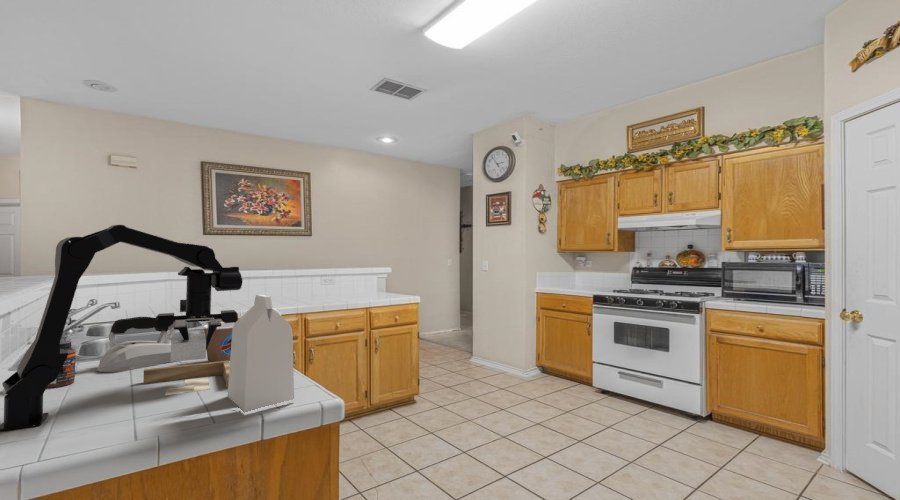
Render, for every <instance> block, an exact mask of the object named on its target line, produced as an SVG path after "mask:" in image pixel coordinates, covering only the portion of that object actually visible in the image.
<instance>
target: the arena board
mask: <svg viewBox="0 0 900 500" xmlns="http://www.w3.org/2000/svg"><path fill="white" fill-rule="evenodd" d="M208 390H211V387H210V380H209V376H204V377H196V378H187V379H184V386H178V387H169V388H166V389H165V396H172V395H178V394H186V393H187V394H188V393H193V392H194V393H195V392H201V391H208Z"/></svg>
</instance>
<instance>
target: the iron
mask: <svg viewBox="0 0 900 500" xmlns="http://www.w3.org/2000/svg"><path fill="white" fill-rule="evenodd" d="M155 318H156V317H151V316H136V317H135V316H134V317H130V318H129V317H128V318H120V319H117V320H115V321H114V323H113V324H112V326H111V328H110V332H109V334H108V340H109V342H111V343H112V344H114V346H112V347H111V348H109V349H108V350H107V351H106V352H105V353H104V354H103V355H102V357H101V358H100V360H99V364H98V367H97V368H96V371H98V372H101V373H116V372H118V373H119V372H124V371H131V370H137V369H142V368H146V367H154V366H159V365H161V364H163V365H164V364H166V363H169V362H171V341H172V339H171V338H173V336H174V334H175V333H176V331H178V329H176V330H175V329H174V327H172V328H171V329H170V330H169V328H170V327H155ZM153 328H154V330H155V331H157V332H160V334H159V336H158V339H157V340H130V341H123V342H120V343H118V342H117V341H116V340H115V339H116V338H115V337H116V335H121V334H125V333H126V332H127V331H128V330H131V329H135V330H137V329H138V330H145V329H146V330H147V329H153Z"/></svg>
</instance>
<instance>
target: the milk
mask: <svg viewBox="0 0 900 500" xmlns="http://www.w3.org/2000/svg"><path fill="white" fill-rule="evenodd" d="M271 298H272V297H271V296H269V295H265V294H261V293H260V294H255V297H254V301H253V306H252V307H250V308H249V309H248V310H247V311H246V312H245V313H243V314H242V315H241V316H240V317H238V320H237V321H236V323H235V324H234V326H233V330H232V343H231V356H230V369H229V383H228V389H227V395H226V396H227V398H228V399H230V400H231V401H232V402H234V404H236V405H237V407H238V408H240V409H241V410H242V411H243V412H244V413H245V412H248V411H251V410H255V409H258V408H261V407H265V406H269V405H273V404H277V403H281V402H284V401H289V400H293V399H294V400H295V382H294V381H295V379H294V376H295V375H294V343H293V342H294V340H293V339H294V338H293V334H294V333H293V328H292V325H291V324H290V322H289V321H287V320H286V319H285V318H284V317H283V316H282V315H283V314H282V312H280V311H279V310H278V309H276V308H275V307H273V304H272V299H271Z"/></svg>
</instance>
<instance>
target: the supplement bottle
mask: <svg viewBox="0 0 900 500" xmlns="http://www.w3.org/2000/svg"><path fill="white" fill-rule="evenodd" d="M60 349H64V350H65V351H66V352H67V353H68V356H67V358H66V360H65V362H64V364H63V371H64V372H63V373H61V372H59V375H58V376H57V378H56V380H55V381H53V382H52V383H50V384H48V385H47V387H46V388H59V387H60V388H61V387H66V386H70V385H72V384H73V383H75V381H76V380H75V379H76V378H75V377H76V357H77V355H76V354H77V353H76V350H75V349H74V348H72V341H71V340H60Z"/></svg>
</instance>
